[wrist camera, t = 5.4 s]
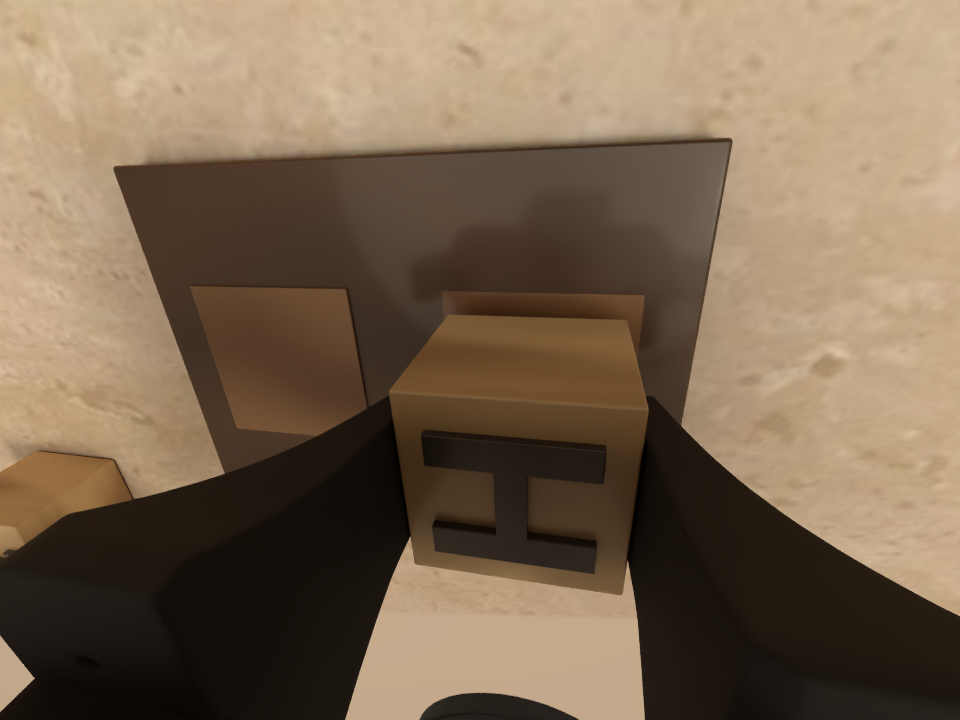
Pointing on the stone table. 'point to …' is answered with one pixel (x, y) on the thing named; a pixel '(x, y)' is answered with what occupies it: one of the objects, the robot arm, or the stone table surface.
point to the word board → (415, 266)
